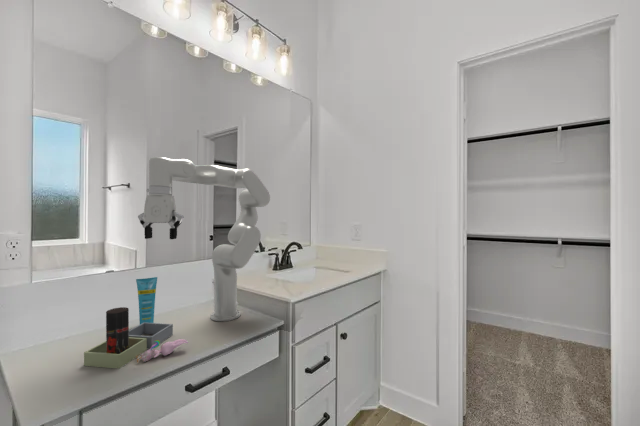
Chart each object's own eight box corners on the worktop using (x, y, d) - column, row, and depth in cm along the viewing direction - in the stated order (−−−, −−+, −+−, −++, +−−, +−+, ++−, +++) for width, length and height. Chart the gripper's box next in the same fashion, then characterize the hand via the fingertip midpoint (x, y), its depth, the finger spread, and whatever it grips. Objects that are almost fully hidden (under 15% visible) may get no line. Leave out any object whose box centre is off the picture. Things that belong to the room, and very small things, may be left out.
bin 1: (114, 348, 103) (114, 336, 103) (146, 350, 102) (146, 338, 102) (83, 365, 91) (83, 352, 91) (119, 368, 90) (119, 355, 90)
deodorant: (132, 356, 98) (132, 309, 97) (111, 363, 93) (111, 314, 92) (123, 351, 101) (122, 306, 101) (102, 358, 96) (102, 311, 96)
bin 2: (144, 332, 116) (144, 322, 116) (172, 334, 114) (172, 324, 114) (120, 346, 104) (120, 335, 104) (151, 349, 103) (151, 337, 103)
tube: (136, 328, 119) (136, 280, 119) (135, 324, 123) (135, 277, 123) (157, 325, 123) (157, 277, 123) (156, 321, 127) (156, 275, 127)
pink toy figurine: (138, 371, 92) (190, 349, 100) (135, 352, 91) (187, 332, 100) (136, 362, 97) (186, 342, 105) (133, 344, 96) (183, 326, 105)
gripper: (131, 191, 108) (131, 239, 108) (176, 191, 106) (176, 240, 106) (146, 192, 116) (146, 237, 116) (188, 192, 113) (188, 238, 114)
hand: (160, 238), depth 111 cm, fingers open, 9 cm apart
